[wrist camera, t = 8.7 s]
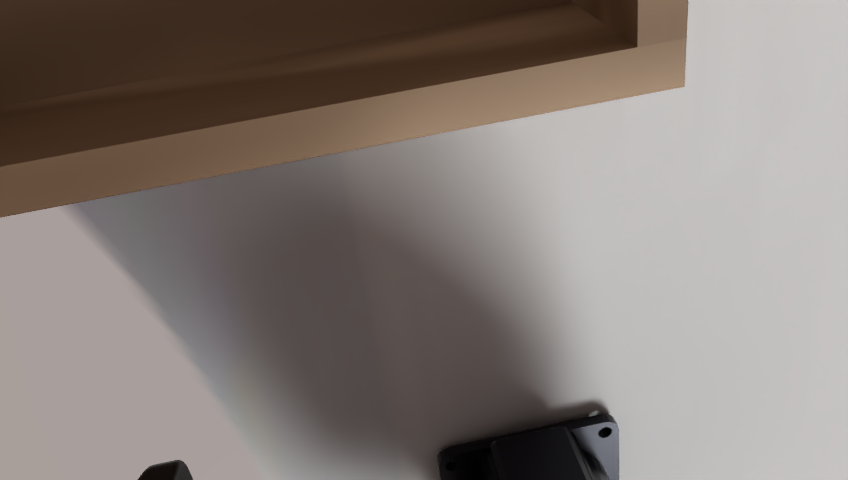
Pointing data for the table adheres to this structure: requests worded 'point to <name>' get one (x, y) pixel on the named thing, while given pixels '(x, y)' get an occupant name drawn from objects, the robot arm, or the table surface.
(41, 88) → the walled box
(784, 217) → the table surface
